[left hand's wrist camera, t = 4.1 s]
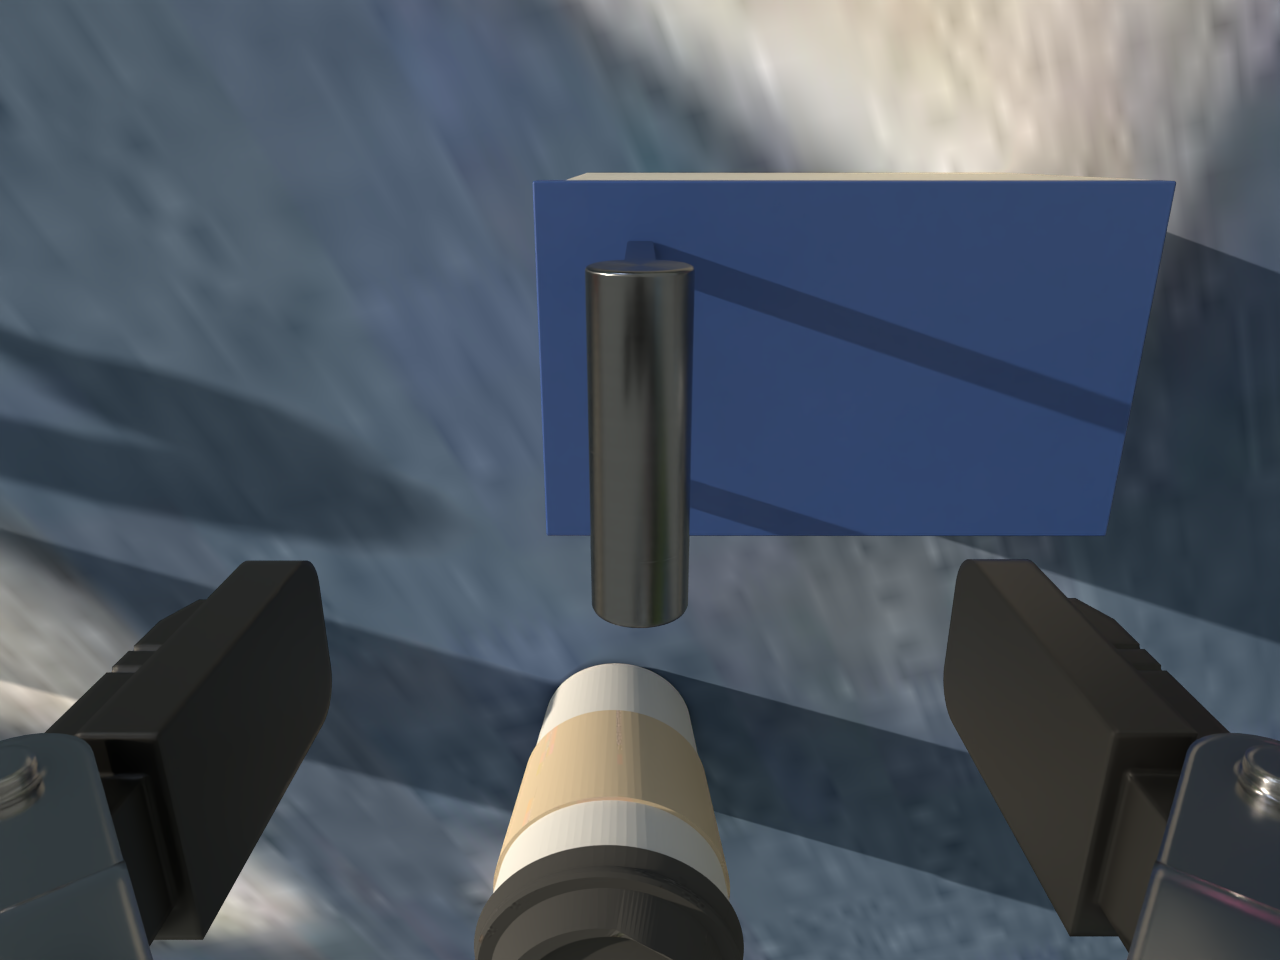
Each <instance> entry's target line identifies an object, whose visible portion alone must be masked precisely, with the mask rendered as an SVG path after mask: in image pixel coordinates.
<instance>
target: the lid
mask: <svg viewBox="0 0 1280 960" xmlns="http://www.w3.org/2000/svg"><path fill="white" fill-rule="evenodd" d="M1175 186H1176V182H1175V181H1163V180H537V181H534V182H533V204H534V229H535V255H536V280H537V305H538V330H539V355H540V380H541V405H542V430H543V455H544V480H545V505H546V530H547V535H548V536H591V581H592V606H593V609H594V611H595V612H596V614H597V615H598V616H599V617H601V618H602V619H603V620H605V621H607V622H609V623H612V624H615V625H619V626H624V627H631V628H649V627H656V626H661V625H665V624H668V623H670V622H673V621H675V620H676V619H678V618H679V617H681V616H682V615H683V614H684V612H685V610H686V608H687V606H688V573H689V536H1105V535H1106V532H1107V527H1108V522H1109V517H1110V512H1111V507H1112V502H1113V497H1114V492H1115V487H1116V482H1117V477H1118V472H1119V467H1120V462H1121V457H1122V452H1123V447H1124V442H1125V437H1126V432H1127V427H1128V422H1129V417H1130V412H1131V407H1132V402H1133V397H1134V392H1135V387H1136V382H1137V377H1138V372H1139V367H1140V362H1141V356H1142V351H1143V346H1144V341H1145V336H1146V331H1147V326H1148V321H1149V316H1150V311H1151V306H1152V301H1153V296H1154V291H1155V286H1156V281H1157V276H1158V271H1159V266H1160V261H1161V256H1162V251H1163V246H1164V241H1165V236H1166V231H1167V226H1168V221H1169V216H1170V211H1171V206H1172V201H1173V196H1174V191H1175Z"/></svg>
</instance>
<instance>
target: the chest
mask: <svg viewBox="0 0 1280 960" xmlns="http://www.w3.org/2000/svg"><path fill="white" fill-rule="evenodd" d="M568 180H1142V179H1121V178H1100V177H1080V176H1059V175H1039V174H1018V173H586V174H583V175H580V176H577V177H574V178H571V179H568Z"/></svg>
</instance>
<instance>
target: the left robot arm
mask: <svg viewBox="0 0 1280 960" xmlns="http://www.w3.org/2000/svg"><path fill="white" fill-rule="evenodd" d="M1139 645H1140V644H1139V643H1138V642H1137V641H1136V640H1135V639H1134V638H1133V637H1132V636H1131V635H1130V634H1129V633H1128V632H1127V631H1126V630H1125V629H1124V628H1123V627H1121V626H1120V625H1119V624H1118V623H1117V622H1116V621H1115V620H1114V619H1113V618H1111V617H1109V616H1107V615H1105V614H1103V613H1102V612H1100V611H1098V610H1096V609H1094V608H1092V607H1091V606H1089V605H1087V604H1085V603H1083V602H1081V601H1080V600H1078V599H1076V598H1067V597H1066V596H1065V595H1064V594H1063V593H1062V592H1061V591H1060V590H1059V589H1058V587H1057V586H1056V585H1055V584H1054V583H1053V582H1052V581H1051V580H1050V579H1049V578H1048V577H1047V576H1046V575H1045V574H1044V573H1043V572H1042V571H1041V570H1040V569H1039V568H1038V567H1037V566H1036V565H1035V564H1034V563H1033V562H1032V561H1030V560H1028V559H967V560H965V561H964V562H963V563H962V565H961V566H960V569H959V571H958V575H957V579H956V585H955V593H954V600H953V607H952V614H951V622H950V629H949V636H948V643H947V651H946V658H945V665H944V678H943V681H944V695H945V701H946V706H947V710H948V713H949V716H950V719H951V721H952V723H953V725H954V727H955V728H956V730H957V732H958V734H959V736H960V738H961V739H962V741H963V743H964V745H965V747H966V748H967V750H968V752H969V754H970V756H971V758H972V759H973V761H974V763H975V765H976V767H977V768H978V770H979V772H980V774H981V776H982V778H983V779H984V781H985V783H986V785H987V787H988V788H989V790H990V792H991V794H992V796H993V798H994V799H995V801H996V803H997V805H998V807H999V808H1000V810H1001V812H1002V814H1003V816H1004V818H1005V819H1006V821H1007V823H1008V825H1009V827H1010V828H1011V830H1012V832H1013V834H1014V836H1015V837H1016V839H1017V841H1018V843H1019V845H1020V847H1021V848H1022V850H1023V852H1024V854H1025V856H1026V857H1027V859H1028V861H1029V863H1030V865H1031V867H1032V868H1033V870H1034V872H1035V874H1036V876H1037V877H1038V879H1039V881H1040V883H1041V885H1042V887H1043V888H1044V890H1045V892H1046V894H1047V896H1048V897H1049V899H1050V901H1051V903H1052V905H1053V907H1054V908H1055V910H1056V912H1057V914H1058V916H1059V917H1060V919H1061V921H1062V923H1063V925H1064V927H1065V928H1066V930H1067V932H1068V934H1069V936H1119V938H1120V940H1121V941H1122V943H1123V944H1124V946H1125V948H1126V949H1127V951H1128V953H1129V954H1128V958H1127V960H1280V741H1278V740H1274V739H1271V738H1266V737H1261V736H1256V735H1250V734H1241V733H1230V732H1229V731H1228V730H1227V729H1226V728H1225V727H1224V726H1223V725H1222V724H1221V723H1220V722H1219V721H1218V720H1216V719H1215V718H1214V717H1213V716H1212V715H1211V714H1210V713H1209V712H1208V711H1207V710H1206V709H1205V708H1204V707H1203V706H1202V705H1201V704H1200V703H1199V702H1198V701H1197V700H1196V699H1195V698H1194V697H1193V696H1192V695H1191V694H1190V693H1189V692H1188V691H1187V690H1186V689H1185V688H1184V687H1183V686H1182V685H1181V684H1180V683H1179V682H1178V681H1177V680H1176V679H1175V678H1174V677H1173V676H1172V675H1171V674H1169V673H1168V672H1167V671H1162V670H1161V665H1160V664H1159V663H1158V662H1157V661H1156V660H1155V659H1154V658H1153V657H1152V656H1151V655H1150V654H1149V653H1148V652H1147V651H1146V650H1145V649H1140V647H1139ZM331 690H332V673H331V664H330V657H329V650H328V643H327V636H326V629H325V621H324V614H323V607H322V600H321V593H320V586H319V580H318V576H317V572H316V570H315V567H314V566H313V564H312V563H311V562H309V561H245V562H243V563H242V564H241V565H240V566H239V567H238V568H237V569H236V570H235V571H234V572H233V573H232V574H231V575H230V576H229V577H228V578H227V579H226V580H225V581H224V582H223V583H222V584H221V585H220V586H219V587H218V588H217V589H216V590H215V591H214V592H213V593H212V594H211V595H210V596H209V597H208V598H207V599H206V600H197V601H196V602H194V603H192V604H190V605H188V606H186V607H185V608H183V609H181V610H179V611H177V612H175V613H174V614H172V615H170V616H168V617H166V618H164V619H163V620H161V621H159V622H158V623H157V624H156V625H155V626H154V627H153V628H152V629H151V630H150V631H149V632H148V633H147V634H146V635H145V636H144V637H143V638H142V639H141V640H140V641H139V642H138V643H137V644H136V645H135V646H134V651H128V652H127V653H126V654H125V655H124V656H123V657H122V658H121V659H120V660H119V661H118V662H117V663H116V664H115V665H114V666H113V667H112V673H106V674H105V675H104V676H103V677H102V678H101V679H100V680H98V681H97V682H96V683H95V684H94V685H93V686H92V687H91V688H90V689H89V690H88V691H87V692H86V693H85V694H84V695H83V696H82V697H81V698H80V699H79V700H78V701H77V702H76V703H75V704H74V705H73V706H72V707H71V708H70V709H69V710H68V711H67V712H65V713H64V714H63V715H62V716H61V717H60V718H59V719H58V720H57V721H56V722H55V723H54V724H53V725H52V726H51V727H50V728H49V729H48V730H47V731H46V732H45V733H39V734H30V735H24V736H19V737H14V738H9V739H6V740H2V741H0V960H153V958H152V954H151V951H150V945H151V943H152V942H153V940H203V939H204V937H205V935H206V933H207V932H208V930H209V928H210V926H211V924H212V923H213V921H214V919H215V917H216V915H217V914H218V912H219V910H220V908H221V906H222V905H223V903H224V901H225V899H226V897H227V896H228V894H229V892H230V890H231V888H232V887H233V885H234V883H235V881H236V879H237V878H238V876H239V874H240V872H241V870H242V869H243V867H244V865H245V863H246V862H247V860H248V858H249V856H250V854H251V853H252V851H253V849H254V847H255V845H256V844H257V842H258V840H259V838H260V836H261V835H262V833H263V831H264V829H265V827H266V826H267V824H268V822H269V820H270V818H271V817H272V815H273V813H274V811H275V809H276V808H277V806H278V804H279V802H280V800H281V799H282V797H283V795H284V793H285V792H286V790H287V788H288V786H289V784H290V783H291V781H292V779H293V777H294V775H295V774H296V772H297V770H298V768H299V766H300V765H301V763H302V761H303V759H304V757H305V756H306V754H307V752H308V750H309V748H310V747H311V745H312V743H313V741H314V739H315V738H316V736H317V734H318V732H319V730H320V729H321V727H322V725H323V723H324V721H325V719H326V716H327V713H328V709H329V704H330V699H331Z"/></svg>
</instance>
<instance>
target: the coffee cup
mask: <svg viewBox="0 0 1280 960" xmlns="http://www.w3.org/2000/svg"><path fill="white" fill-rule="evenodd" d="M493 890H494V892H493V894H492V896H491V897H490V898H489V900H488V901H487V903H486V905H485V906H484V908H483V910H482V912H481V915H480V917H479V920H478V923H477V927H476V931H475V939H474V952H475V960H743V953H744V943H743V934H742V930H741V926H740V923H739V920H738V917H737V915H736V913H735V911H734V909H733V907H732V905H731V904H730V902H729V897H730V882H729V876H728V871H727V867H726V862H725V858H724V854H723V849H722V845H721V841H720V836H719V832H718V828H717V823H716V819H715V815H714V810H713V806H712V802H711V797H710V793H709V789H708V784H707V780H706V776H705V771H704V768H703V765H702V762H701V760H700V758H699V756H698V753H697V748H696V743H695V739H694V734H693V729H692V725H691V720H690V715H689V712H688V709H687V706H686V704H685V702H684V700H683V698H682V697H681V695H680V694H679V692H678V691H677V690H676V689H675V688H674V687H673V686H672V685H671V684H670V683H669V682H668V681H667V680H665V679H664V678H662V677H661V676H659V675H658V674H656V673H654V672H652V671H650V670H647V669H645V668H642V667H638V666H634V665H629V664H619V663H612V664H602V665H597V666H593V667H590V668H587V669H584V670H582V671H580V672H578V673H576V674H574V675H573V676H571V677H570V678H568V679H567V680H566V681H565V682H563V683H562V684H561V685H560V687H559V688H558V689H557V690H556V691H555V693H554V694H553V696H552V698H551V700H550V702H549V704H548V707H547V711H546V714H545V718H544V721H543V724H542V728H541V731H540V735H539V738H538V742H537V745H536V747H535V748H534V750H533V752H532V754H531V756H530V758H529V761H528V764H527V767H526V770H525V774H524V777H523V780H522V784H521V787H520V790H519V794H518V797H517V800H516V804H515V807H514V810H513V814H512V817H511V820H510V824H509V827H508V830H507V833H506V837H505V840H504V843H503V847H502V850H501V853H500V857H499V860H498V863H497V867H496V870H495V875H494V885H493Z"/></svg>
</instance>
